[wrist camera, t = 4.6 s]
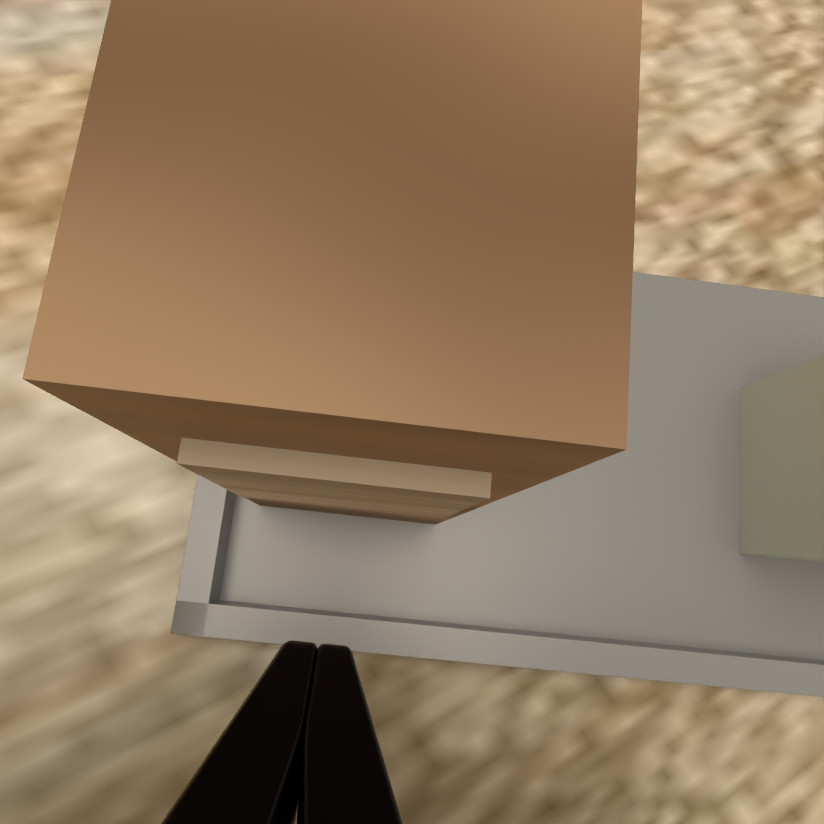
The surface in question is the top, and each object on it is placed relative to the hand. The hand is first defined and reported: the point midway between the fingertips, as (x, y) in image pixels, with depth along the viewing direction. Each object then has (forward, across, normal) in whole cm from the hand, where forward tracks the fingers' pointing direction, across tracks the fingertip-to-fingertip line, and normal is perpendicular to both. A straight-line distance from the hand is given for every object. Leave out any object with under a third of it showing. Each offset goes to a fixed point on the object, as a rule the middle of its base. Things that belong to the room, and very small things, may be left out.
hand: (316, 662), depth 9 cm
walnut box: (+11, 0, +4) cm, 11 cm away
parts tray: (+11, -7, +4) cm, 14 cm away
